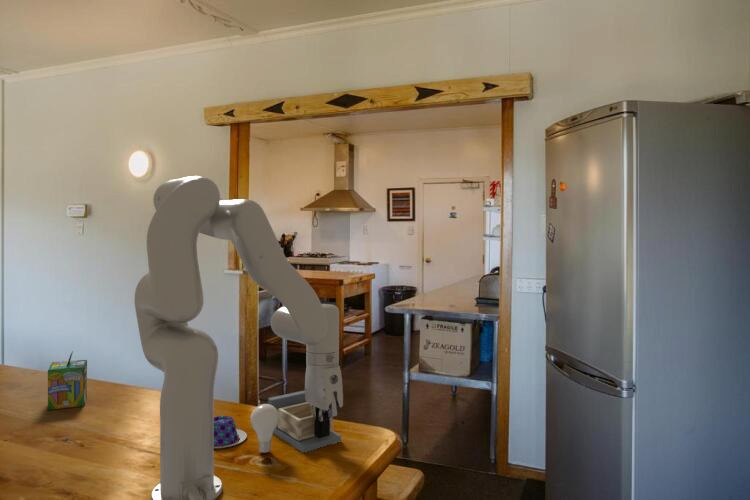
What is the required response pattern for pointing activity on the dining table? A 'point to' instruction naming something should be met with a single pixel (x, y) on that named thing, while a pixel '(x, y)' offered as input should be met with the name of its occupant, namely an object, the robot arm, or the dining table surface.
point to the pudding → (226, 432)
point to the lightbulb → (264, 425)
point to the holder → (298, 421)
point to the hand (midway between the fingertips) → (322, 435)
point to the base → (301, 445)
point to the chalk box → (67, 384)
